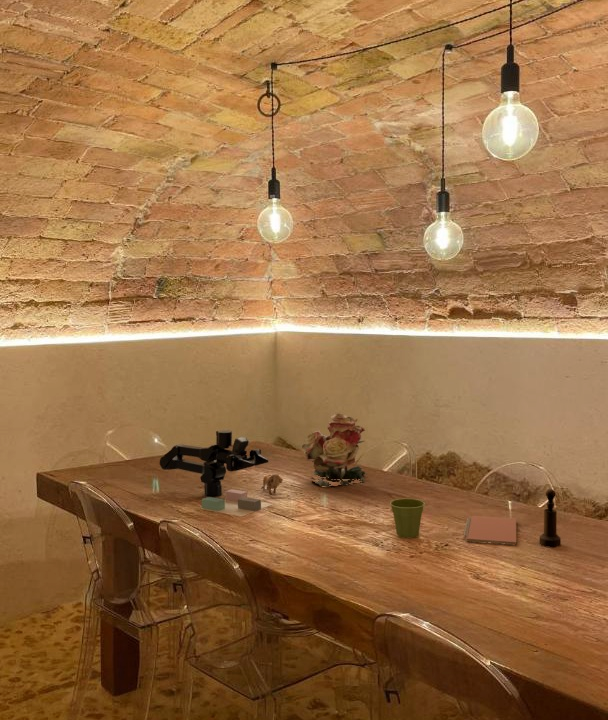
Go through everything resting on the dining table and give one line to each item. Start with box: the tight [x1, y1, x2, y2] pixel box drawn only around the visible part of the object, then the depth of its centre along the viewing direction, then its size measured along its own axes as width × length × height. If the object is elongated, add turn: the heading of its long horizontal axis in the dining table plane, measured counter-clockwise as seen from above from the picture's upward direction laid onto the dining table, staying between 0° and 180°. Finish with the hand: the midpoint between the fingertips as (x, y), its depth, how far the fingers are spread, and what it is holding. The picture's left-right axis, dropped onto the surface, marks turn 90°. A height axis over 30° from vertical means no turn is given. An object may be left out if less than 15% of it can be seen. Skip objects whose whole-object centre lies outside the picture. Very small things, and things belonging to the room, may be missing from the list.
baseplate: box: [200, 496, 273, 517], centre depth 293 cm, size 20×20×4 cm
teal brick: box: [201, 496, 225, 511], centre depth 291 cm, size 8×4×4 cm, turn 56°
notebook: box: [463, 515, 517, 544], centre depth 260 cm, size 27×17×2 cm, turn 165°
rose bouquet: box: [301, 412, 367, 487], centre depth 334 cm, size 26×29×30 cm
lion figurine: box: [260, 473, 284, 495], centre depth 315 cm, size 15×5×9 cm, turn 34°
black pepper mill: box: [539, 488, 561, 548], centre depth 245 cm, size 7×6×18 cm
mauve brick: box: [224, 488, 248, 502], centre depth 302 cm, size 8×4×4 cm, turn 56°
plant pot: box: [389, 497, 426, 539], centre depth 256 cm, size 12×12×11 cm
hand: (260, 462), depth 296 cm, fingers open, 9 cm apart
